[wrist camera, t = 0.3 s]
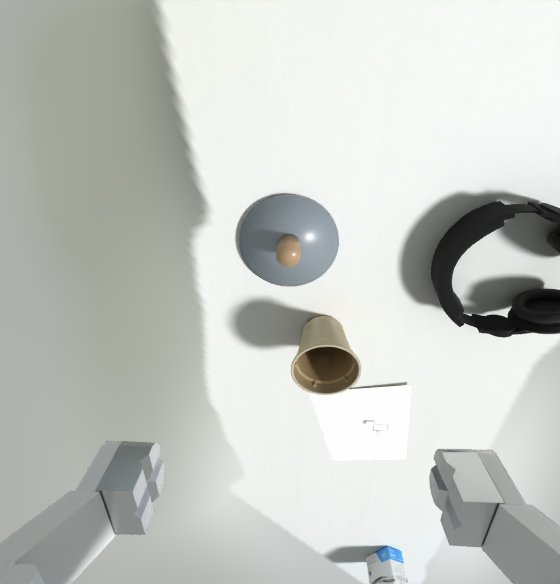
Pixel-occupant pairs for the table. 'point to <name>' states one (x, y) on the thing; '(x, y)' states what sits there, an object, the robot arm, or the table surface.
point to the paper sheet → (365, 422)
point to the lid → (289, 240)
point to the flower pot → (325, 358)
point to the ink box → (386, 567)
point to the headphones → (528, 306)
